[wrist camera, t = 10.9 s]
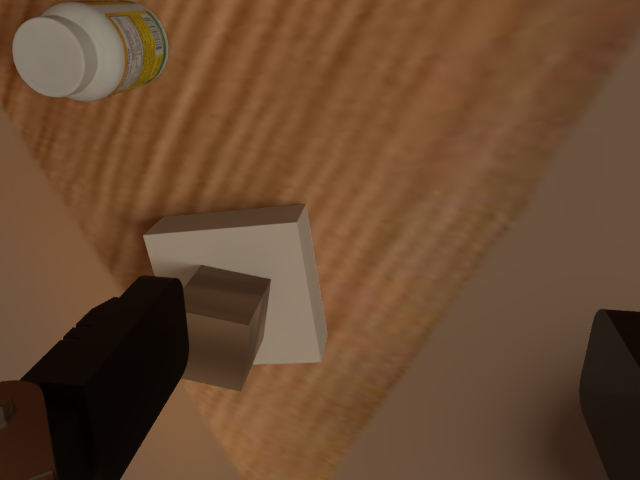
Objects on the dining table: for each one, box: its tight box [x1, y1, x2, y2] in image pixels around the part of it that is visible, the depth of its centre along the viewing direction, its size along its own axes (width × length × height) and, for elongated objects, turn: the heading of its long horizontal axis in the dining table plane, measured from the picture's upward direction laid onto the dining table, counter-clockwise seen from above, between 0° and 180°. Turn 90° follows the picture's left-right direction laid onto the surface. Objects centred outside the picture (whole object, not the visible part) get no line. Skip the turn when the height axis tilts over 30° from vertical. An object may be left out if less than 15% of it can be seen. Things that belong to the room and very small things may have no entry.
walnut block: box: [181, 265, 271, 391], centre depth 38 cm, size 5×5×6 cm
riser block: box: [143, 204, 328, 365], centre depth 42 cm, size 11×11×4 cm
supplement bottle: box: [12, 1, 168, 101], centre depth 34 cm, size 5×5×10 cm
